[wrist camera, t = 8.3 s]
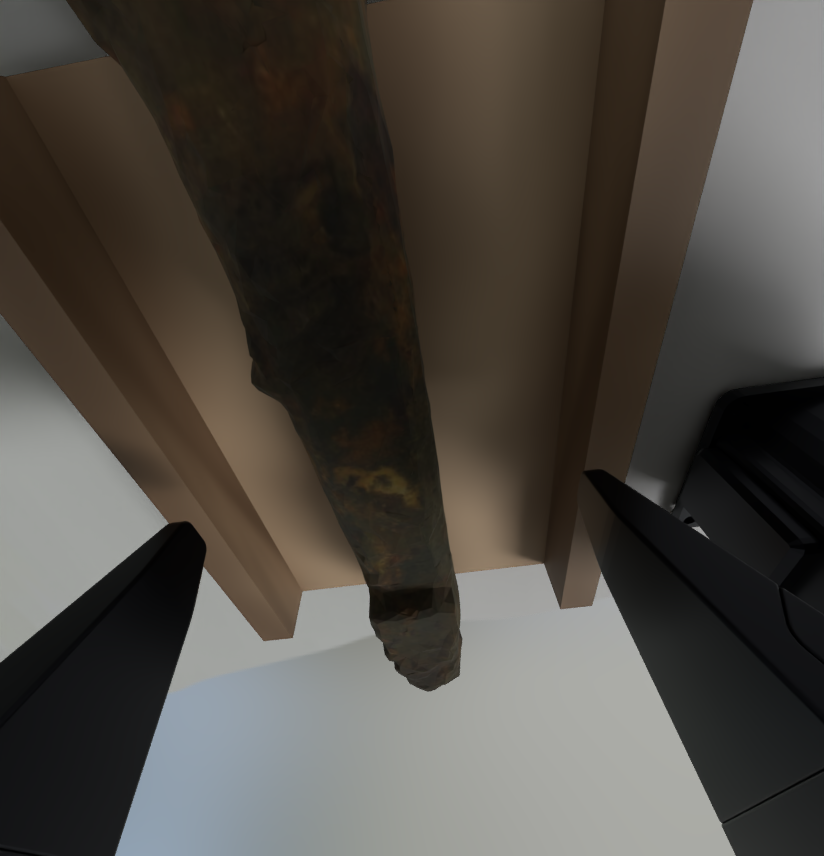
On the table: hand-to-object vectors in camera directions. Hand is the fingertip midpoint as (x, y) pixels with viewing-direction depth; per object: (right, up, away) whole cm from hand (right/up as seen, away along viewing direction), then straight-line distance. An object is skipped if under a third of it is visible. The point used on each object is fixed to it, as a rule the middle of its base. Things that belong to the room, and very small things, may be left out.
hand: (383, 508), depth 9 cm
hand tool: (0, +2, +3) cm, 4 cm away
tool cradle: (0, +3, +4) cm, 4 cm away
